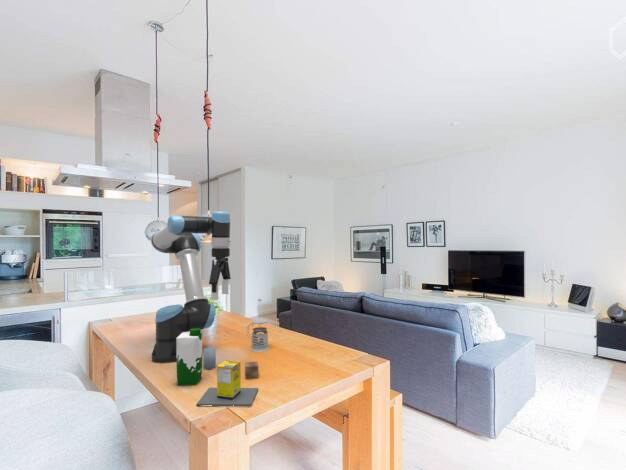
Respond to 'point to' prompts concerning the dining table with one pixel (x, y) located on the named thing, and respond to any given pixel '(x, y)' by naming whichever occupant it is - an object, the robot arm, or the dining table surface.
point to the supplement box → (228, 379)
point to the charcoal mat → (241, 399)
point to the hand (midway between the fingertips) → (220, 297)
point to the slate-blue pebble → (209, 358)
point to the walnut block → (251, 370)
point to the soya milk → (189, 357)
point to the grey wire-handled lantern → (259, 336)
